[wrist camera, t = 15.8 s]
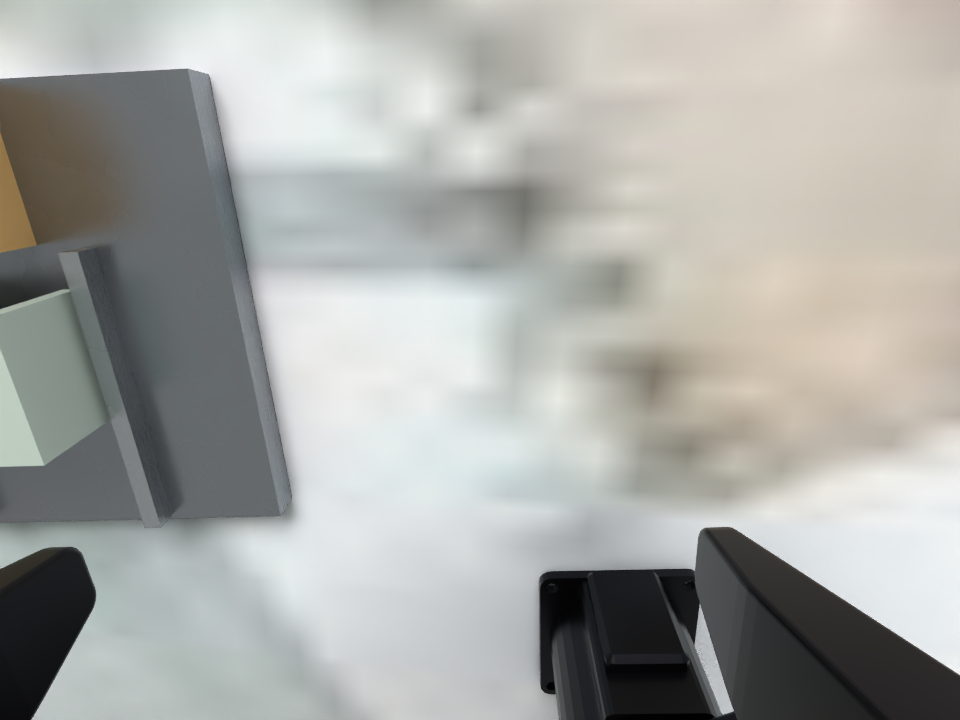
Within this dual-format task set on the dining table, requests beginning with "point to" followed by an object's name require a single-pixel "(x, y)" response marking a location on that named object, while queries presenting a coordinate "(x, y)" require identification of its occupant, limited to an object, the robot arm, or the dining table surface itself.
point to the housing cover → (45, 381)
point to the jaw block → (12, 209)
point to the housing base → (142, 300)
